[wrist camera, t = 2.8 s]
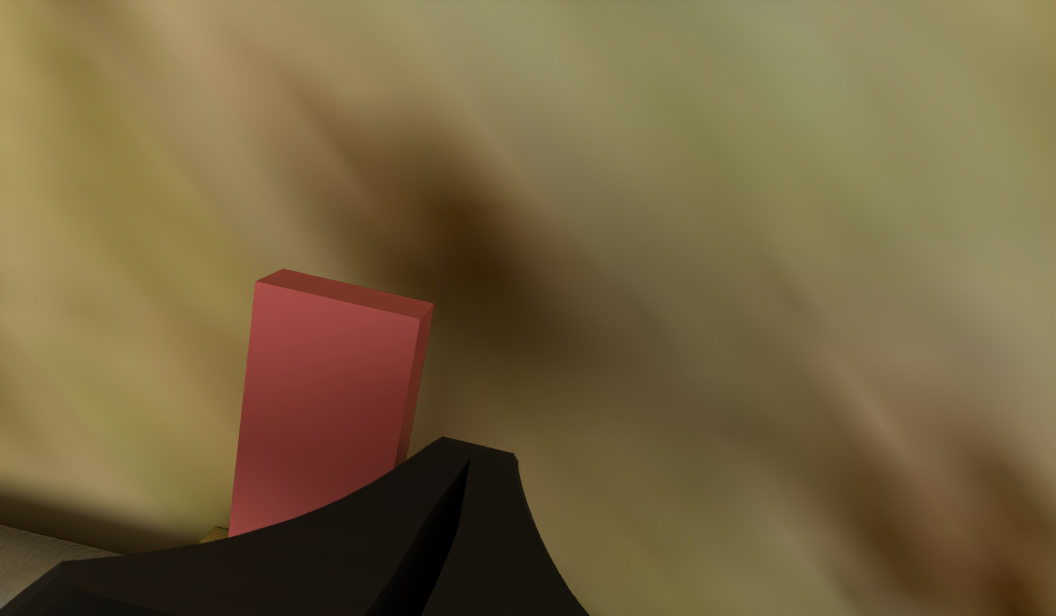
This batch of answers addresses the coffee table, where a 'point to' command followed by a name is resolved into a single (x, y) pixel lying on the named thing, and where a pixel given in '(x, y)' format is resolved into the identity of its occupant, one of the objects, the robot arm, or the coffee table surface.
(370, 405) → the lever
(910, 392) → the coffee table surface
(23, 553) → the valve pipe
